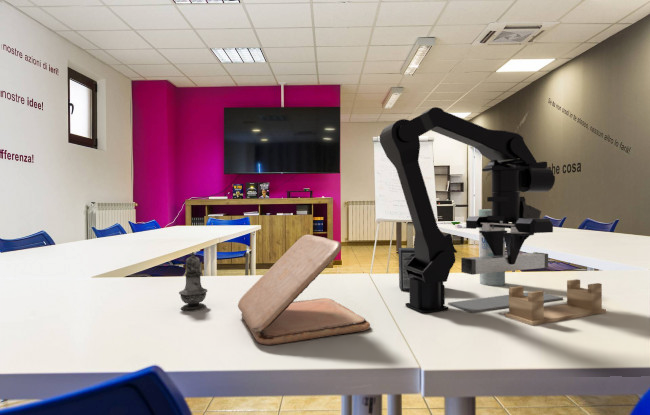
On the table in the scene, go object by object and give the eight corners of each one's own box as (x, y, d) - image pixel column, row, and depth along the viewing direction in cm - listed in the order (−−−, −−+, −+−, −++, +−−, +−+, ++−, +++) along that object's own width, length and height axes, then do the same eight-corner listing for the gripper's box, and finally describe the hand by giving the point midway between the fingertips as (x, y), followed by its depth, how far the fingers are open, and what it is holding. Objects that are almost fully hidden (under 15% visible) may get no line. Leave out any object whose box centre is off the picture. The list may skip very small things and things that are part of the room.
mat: (471, 312, 77) (471, 310, 77) (448, 304, 84) (448, 302, 84) (562, 299, 87) (562, 297, 87) (535, 292, 93) (535, 291, 93)
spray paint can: (478, 285, 103) (478, 209, 103) (479, 280, 109) (479, 209, 109) (505, 286, 100) (505, 209, 100) (505, 282, 106) (504, 209, 106)
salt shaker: (173, 309, 82) (172, 253, 82) (194, 303, 88) (193, 250, 87) (193, 312, 80) (192, 254, 80) (213, 306, 85) (212, 251, 85)
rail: (471, 274, 80) (471, 259, 80) (461, 272, 82) (461, 257, 82) (548, 267, 88) (548, 253, 88) (536, 265, 91) (536, 252, 91)
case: (236, 315, 79) (234, 236, 78) (332, 304, 86) (331, 231, 86) (254, 351, 59) (252, 247, 59) (376, 333, 67) (375, 240, 67)
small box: (439, 286, 102) (438, 246, 102) (444, 292, 96) (443, 249, 96) (398, 286, 103) (398, 246, 103) (400, 291, 97) (400, 249, 97)
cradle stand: (532, 325, 69) (531, 293, 69) (504, 316, 74) (504, 287, 74) (606, 312, 76) (605, 284, 76) (576, 305, 82) (576, 278, 82)
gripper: (572, 191, 79) (572, 267, 79) (499, 193, 97) (499, 256, 97) (532, 190, 75) (532, 271, 75) (464, 193, 92) (464, 258, 93)
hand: (505, 263), depth 85 cm, fingers closed on rail, 3 cm apart
